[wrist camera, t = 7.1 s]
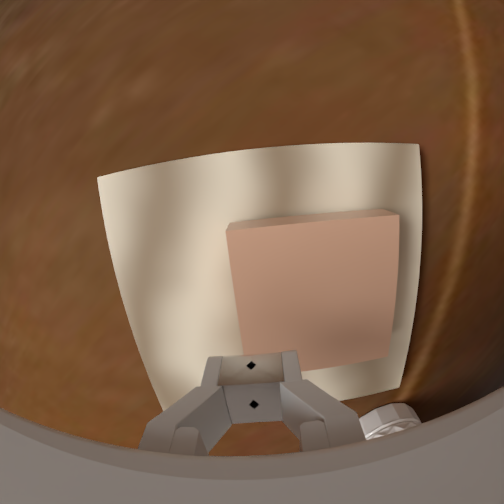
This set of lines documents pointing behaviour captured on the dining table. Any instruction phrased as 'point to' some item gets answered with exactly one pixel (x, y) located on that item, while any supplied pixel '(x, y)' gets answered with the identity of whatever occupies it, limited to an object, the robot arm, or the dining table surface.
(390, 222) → the block
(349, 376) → the board
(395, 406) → the white cup
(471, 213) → the dining table surface
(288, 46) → the dining table surface
